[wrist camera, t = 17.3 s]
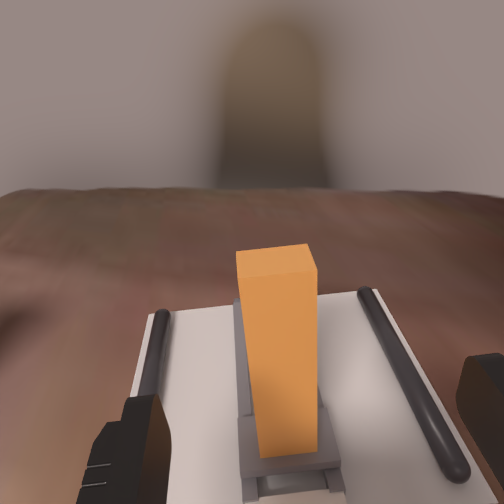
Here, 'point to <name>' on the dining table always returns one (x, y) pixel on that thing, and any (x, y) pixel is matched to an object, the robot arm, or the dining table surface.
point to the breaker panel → (328, 395)
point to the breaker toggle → (282, 365)
